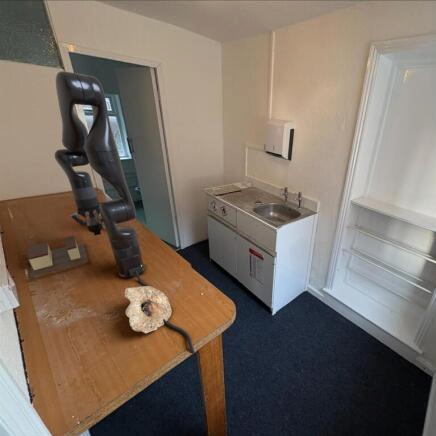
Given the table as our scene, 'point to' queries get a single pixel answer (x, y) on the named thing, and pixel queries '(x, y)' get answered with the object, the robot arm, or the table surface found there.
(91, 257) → the table surface
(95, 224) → the knife
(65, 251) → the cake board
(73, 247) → the cake slice
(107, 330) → the table surface
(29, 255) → the cake
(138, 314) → the seashell
